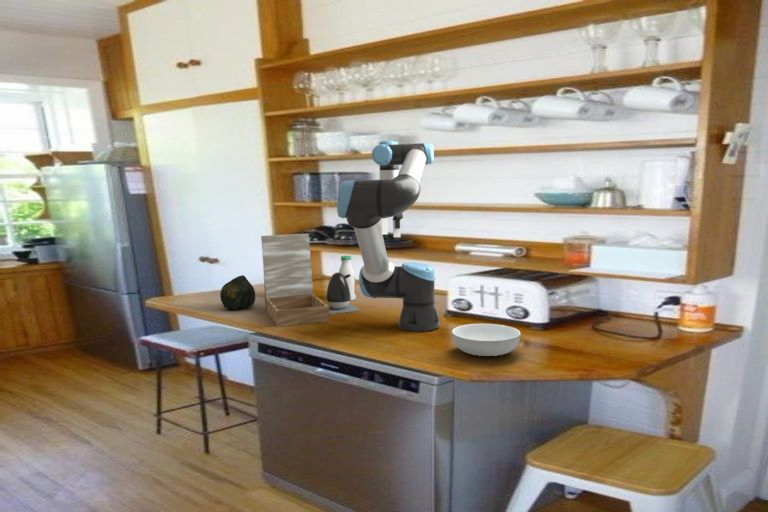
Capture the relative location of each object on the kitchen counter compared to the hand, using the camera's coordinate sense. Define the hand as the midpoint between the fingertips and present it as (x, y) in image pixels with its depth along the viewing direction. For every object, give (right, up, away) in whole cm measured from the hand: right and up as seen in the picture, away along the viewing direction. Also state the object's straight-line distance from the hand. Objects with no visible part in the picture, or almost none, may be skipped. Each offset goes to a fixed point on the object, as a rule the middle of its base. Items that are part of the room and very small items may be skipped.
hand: (390, 235), depth 221 cm
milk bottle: (-19, -28, +35) cm, 49 cm away
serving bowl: (+29, -38, -48) cm, 68 cm away
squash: (-66, -31, +22) cm, 76 cm away
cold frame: (-39, -32, +7) cm, 51 cm away
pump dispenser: (-21, -30, +15) cm, 40 cm away
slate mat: (-21, -30, +15) cm, 40 cm away
